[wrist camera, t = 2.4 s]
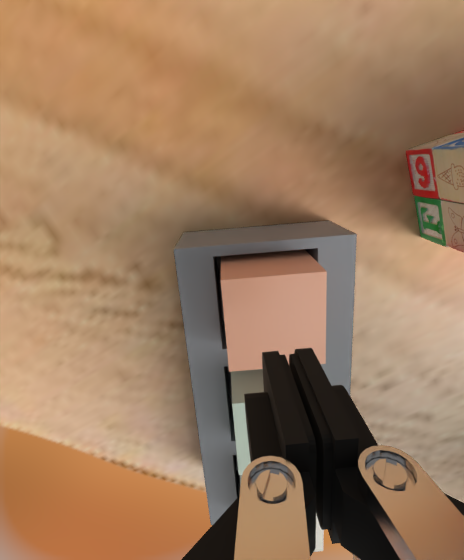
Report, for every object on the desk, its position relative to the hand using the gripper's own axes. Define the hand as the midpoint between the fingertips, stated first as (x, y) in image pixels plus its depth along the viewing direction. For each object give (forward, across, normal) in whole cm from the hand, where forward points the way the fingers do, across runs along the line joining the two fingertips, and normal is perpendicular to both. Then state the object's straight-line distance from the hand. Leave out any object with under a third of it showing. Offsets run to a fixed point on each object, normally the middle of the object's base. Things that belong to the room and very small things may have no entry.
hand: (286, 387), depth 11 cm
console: (+13, -1, +8) cm, 15 cm away
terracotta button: (+10, -1, 0) cm, 10 cm away
